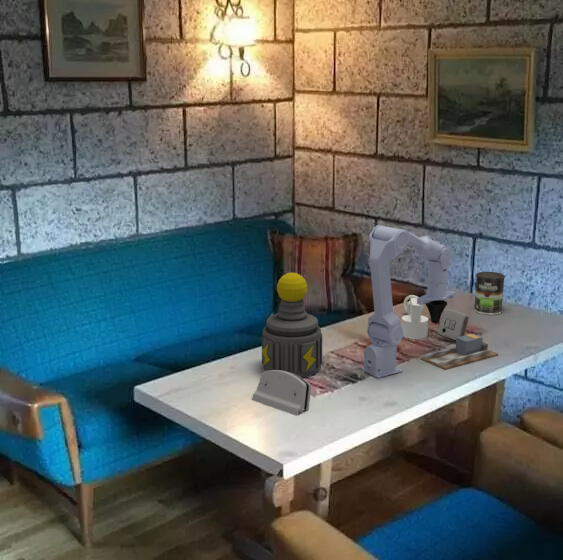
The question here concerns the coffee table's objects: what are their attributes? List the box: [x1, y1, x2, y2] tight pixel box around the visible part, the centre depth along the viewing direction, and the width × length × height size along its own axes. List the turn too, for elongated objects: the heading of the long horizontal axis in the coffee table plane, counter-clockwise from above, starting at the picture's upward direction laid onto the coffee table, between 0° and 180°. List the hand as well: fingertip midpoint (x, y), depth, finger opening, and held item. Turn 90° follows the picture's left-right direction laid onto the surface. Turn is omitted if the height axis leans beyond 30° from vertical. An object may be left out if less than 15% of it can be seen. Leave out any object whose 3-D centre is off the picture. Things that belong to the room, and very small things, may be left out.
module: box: [455, 333, 483, 356], centre depth 249 cm, size 7×4×5 cm, turn 122°
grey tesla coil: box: [261, 272, 323, 378], centre depth 236 cm, size 19×19×30 cm
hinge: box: [251, 370, 312, 416], centre depth 213 cm, size 17×5×10 cm, turn 50°
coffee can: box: [473, 271, 506, 316], centre depth 294 cm, size 10×10×14 cm
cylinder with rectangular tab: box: [400, 298, 429, 340], centre depth 267 cm, size 9×9×12 cm
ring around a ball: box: [402, 294, 424, 315], centre depth 289 cm, size 8×6×8 cm
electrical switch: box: [437, 307, 470, 341], centre depth 266 cm, size 9×5×9 cm, turn 35°
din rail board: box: [419, 341, 499, 371], centre depth 247 cm, size 23×11×4 cm, turn 122°
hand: (435, 322), depth 250 cm, fingers closed
